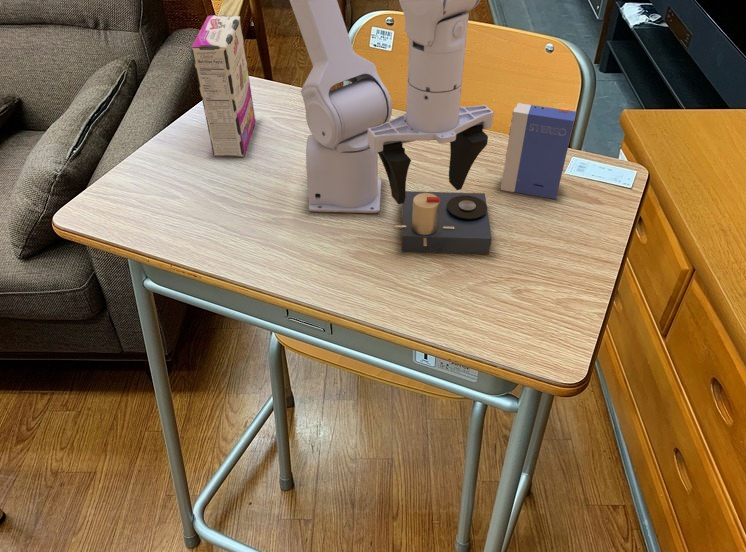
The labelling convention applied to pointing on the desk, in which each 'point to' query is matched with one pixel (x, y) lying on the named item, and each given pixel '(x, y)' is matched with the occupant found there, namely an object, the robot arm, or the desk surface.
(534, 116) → the walkman
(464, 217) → the burner
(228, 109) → the candy bar box
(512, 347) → the desk surface
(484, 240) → the hot plate
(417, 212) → the knob
